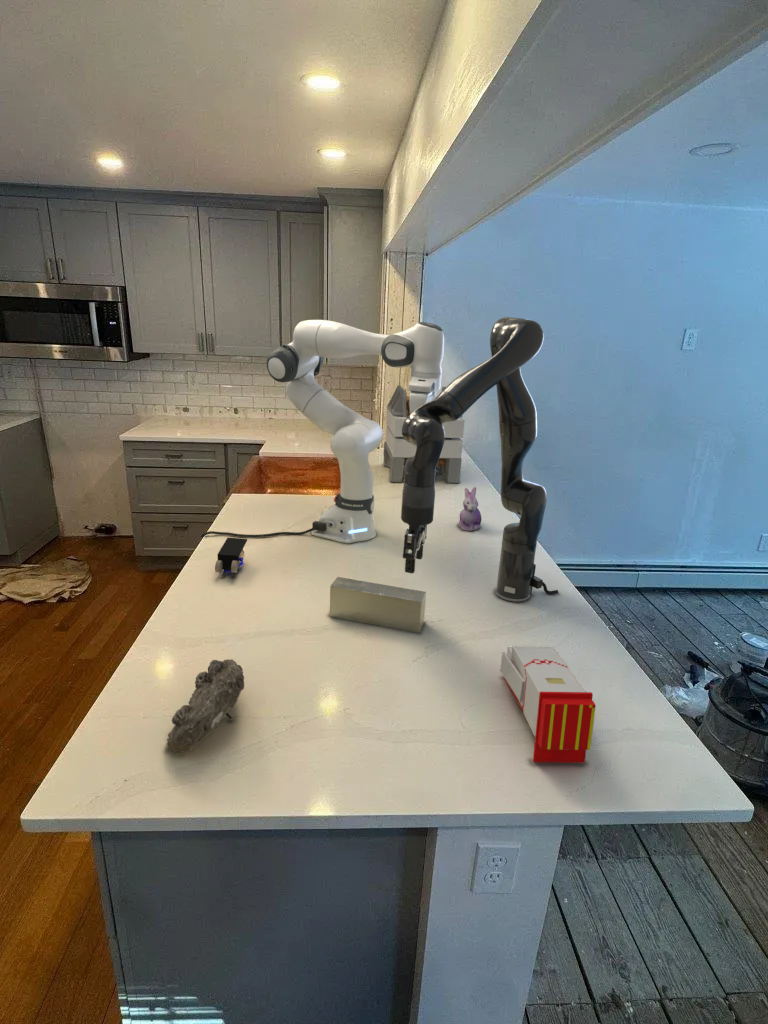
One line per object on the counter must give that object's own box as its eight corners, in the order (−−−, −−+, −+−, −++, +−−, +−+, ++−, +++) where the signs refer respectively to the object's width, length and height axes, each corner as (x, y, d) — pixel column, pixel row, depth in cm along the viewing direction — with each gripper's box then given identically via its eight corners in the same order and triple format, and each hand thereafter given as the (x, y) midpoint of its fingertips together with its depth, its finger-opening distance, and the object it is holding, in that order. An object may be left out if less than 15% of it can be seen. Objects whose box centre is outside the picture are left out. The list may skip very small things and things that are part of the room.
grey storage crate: (382, 463, 289) (386, 382, 275) (445, 464, 293) (451, 384, 279) (390, 482, 257) (394, 392, 243) (460, 483, 261) (468, 394, 247)
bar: (329, 616, 145) (330, 585, 142) (337, 606, 150) (337, 576, 147) (419, 633, 139) (421, 601, 136) (423, 622, 144) (426, 591, 141)
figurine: (467, 533, 203) (471, 493, 198) (451, 523, 211) (454, 485, 206) (488, 529, 207) (492, 490, 202) (471, 520, 215) (475, 482, 210)
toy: (549, 628, 125) (605, 700, 96) (544, 683, 128) (596, 770, 99) (495, 627, 125) (534, 699, 95) (491, 683, 128) (527, 769, 98)
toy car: (238, 584, 162) (249, 557, 175) (236, 562, 158) (247, 536, 172) (215, 584, 161) (227, 556, 175) (212, 561, 158) (225, 535, 171)
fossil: (192, 660, 117) (244, 628, 112) (224, 691, 120) (276, 661, 115) (142, 746, 98) (202, 712, 93) (182, 779, 101) (242, 748, 96)
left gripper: (422, 377, 173) (418, 422, 178) (407, 385, 154) (403, 435, 159) (442, 379, 171) (438, 424, 176) (429, 387, 153) (425, 437, 158)
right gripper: (427, 513, 124) (422, 580, 129) (439, 495, 137) (434, 556, 142) (394, 509, 126) (391, 574, 131) (409, 491, 139) (405, 551, 144)
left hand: (421, 429), depth 167 cm, fingers open, 8 cm apart
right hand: (413, 565), depth 137 cm, fingers open, 8 cm apart
